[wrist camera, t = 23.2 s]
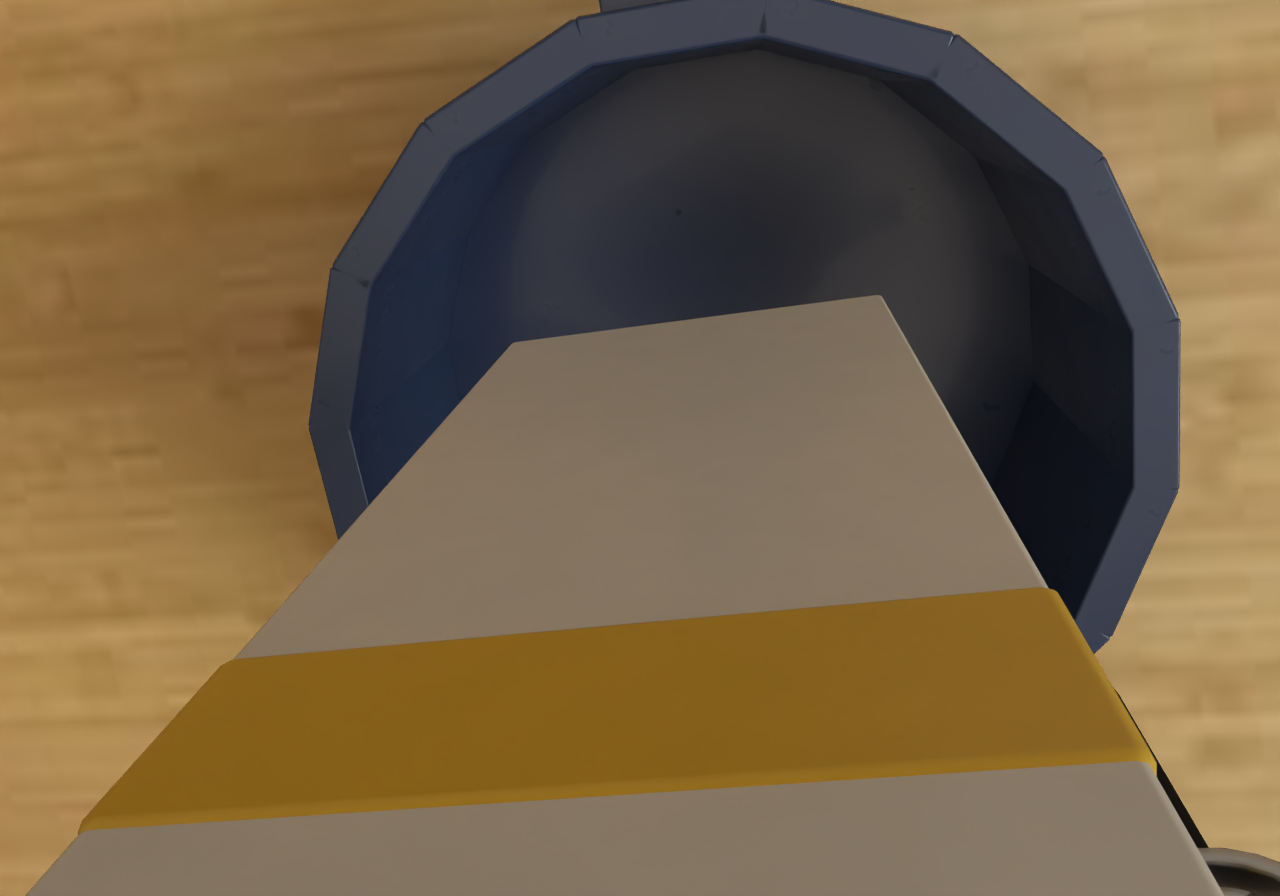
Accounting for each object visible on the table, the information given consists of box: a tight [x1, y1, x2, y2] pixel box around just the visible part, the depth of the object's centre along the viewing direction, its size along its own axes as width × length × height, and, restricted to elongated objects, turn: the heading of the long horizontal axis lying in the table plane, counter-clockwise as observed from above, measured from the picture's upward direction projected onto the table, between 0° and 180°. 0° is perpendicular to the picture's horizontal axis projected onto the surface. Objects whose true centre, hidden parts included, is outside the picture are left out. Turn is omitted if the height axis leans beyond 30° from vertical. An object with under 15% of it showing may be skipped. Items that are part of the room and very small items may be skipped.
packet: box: [25, 295, 1224, 896], centre depth 9 cm, size 5×8×10 cm, turn 9°
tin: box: [309, 0, 1181, 654], centre depth 23 cm, size 16×21×8 cm
